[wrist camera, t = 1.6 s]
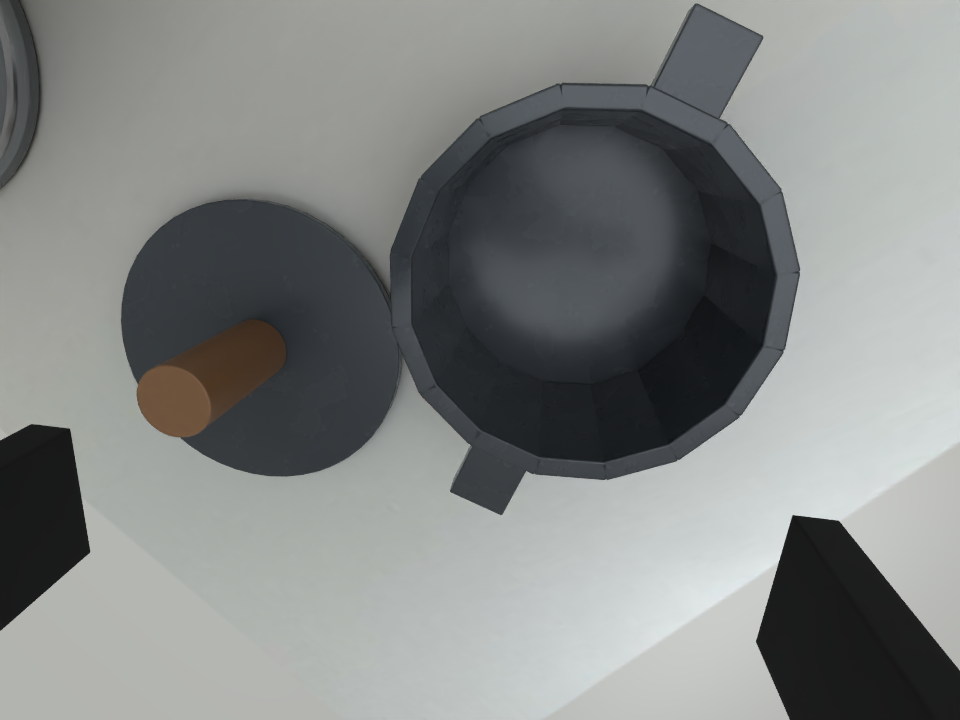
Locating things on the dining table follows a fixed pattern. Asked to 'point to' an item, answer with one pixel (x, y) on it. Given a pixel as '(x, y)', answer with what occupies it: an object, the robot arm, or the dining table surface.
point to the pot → (597, 273)
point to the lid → (259, 338)
